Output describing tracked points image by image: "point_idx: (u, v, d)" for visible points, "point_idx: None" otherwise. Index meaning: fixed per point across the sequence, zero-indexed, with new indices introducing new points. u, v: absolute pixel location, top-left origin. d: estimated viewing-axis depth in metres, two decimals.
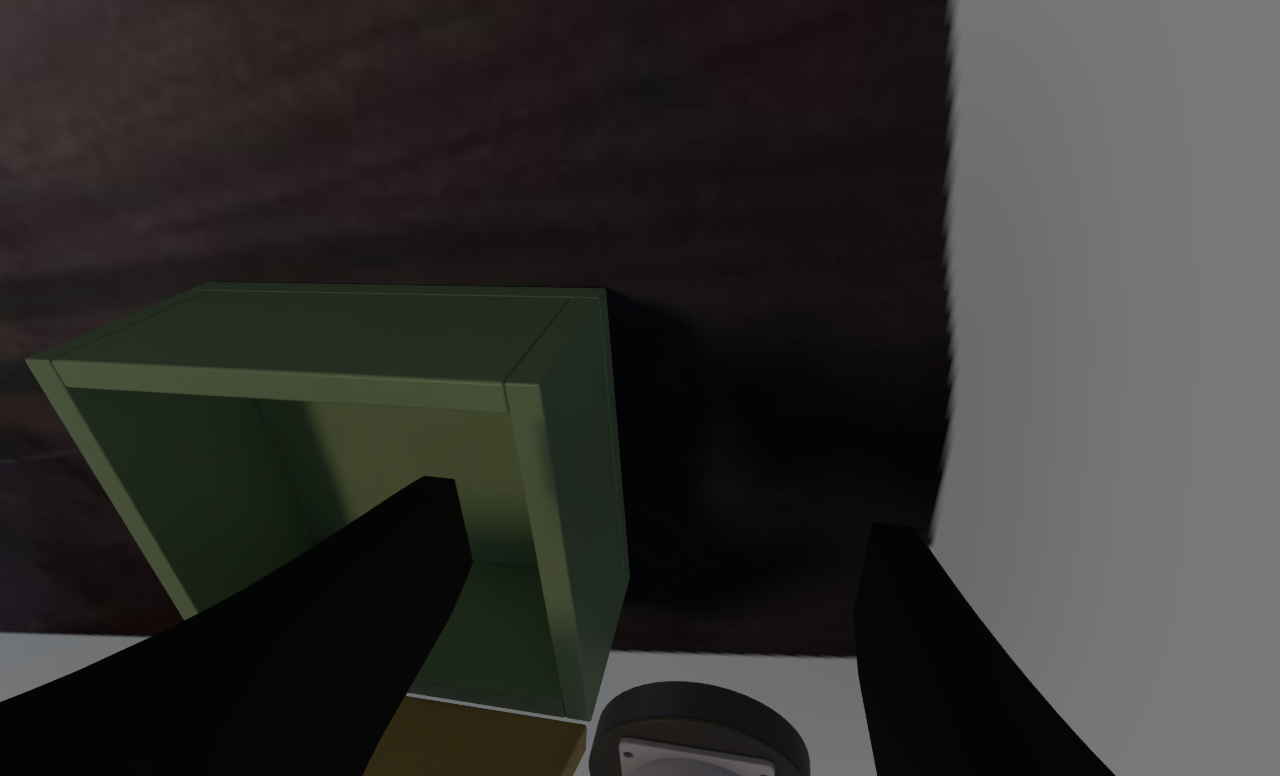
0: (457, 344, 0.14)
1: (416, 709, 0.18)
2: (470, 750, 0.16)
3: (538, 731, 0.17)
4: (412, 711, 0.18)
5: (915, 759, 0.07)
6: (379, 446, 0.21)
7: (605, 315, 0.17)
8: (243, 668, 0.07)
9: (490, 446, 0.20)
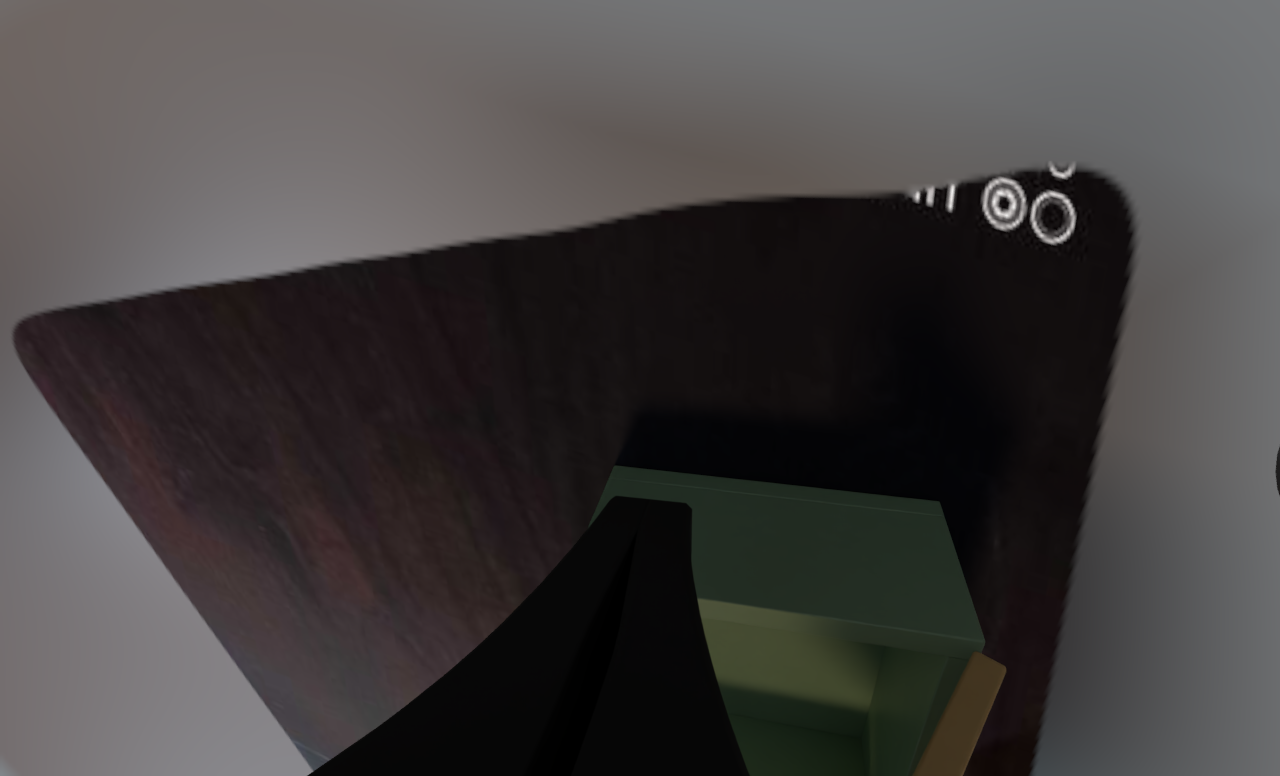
0: None
1: None
2: None
3: None
4: None
5: None
6: (749, 653, 0.25)
7: (630, 472, 0.23)
8: (550, 723, 0.06)
9: None
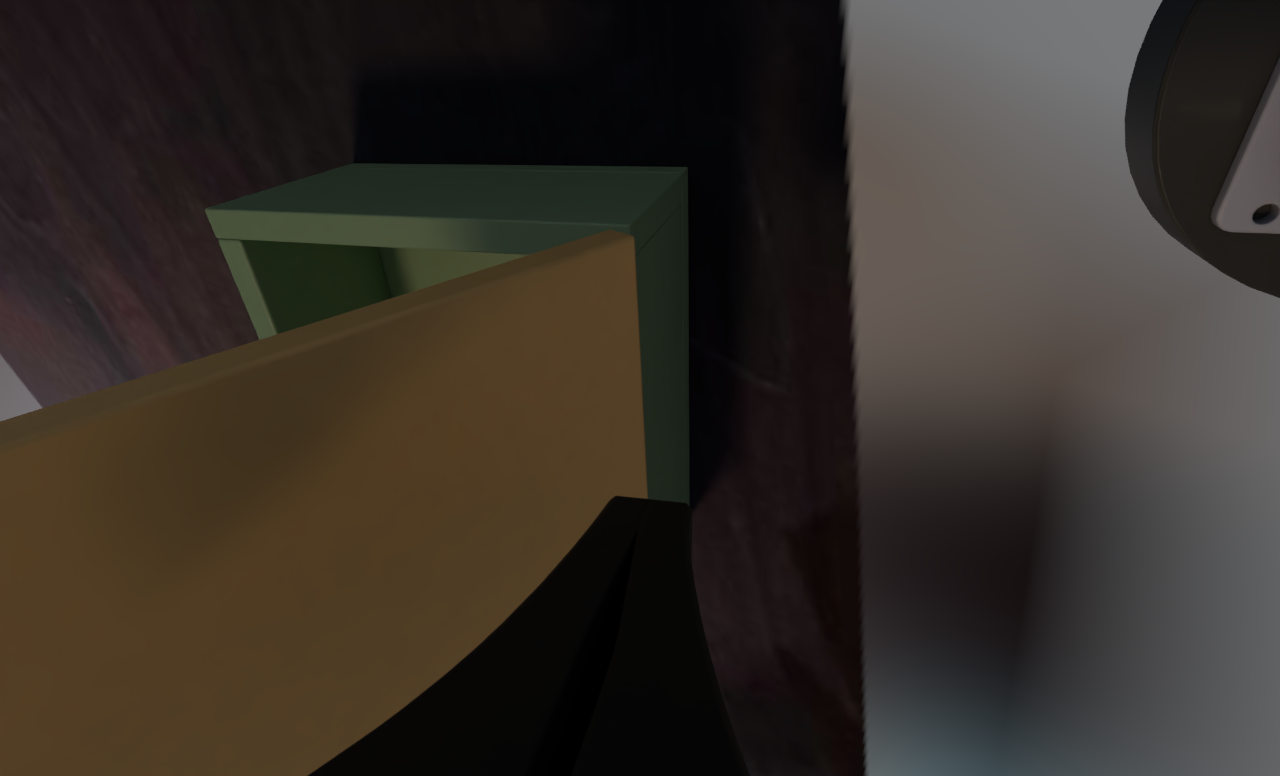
0: None
1: None
2: None
3: None
4: None
5: None
6: None
7: (362, 165, 0.20)
8: (551, 723, 0.06)
9: None
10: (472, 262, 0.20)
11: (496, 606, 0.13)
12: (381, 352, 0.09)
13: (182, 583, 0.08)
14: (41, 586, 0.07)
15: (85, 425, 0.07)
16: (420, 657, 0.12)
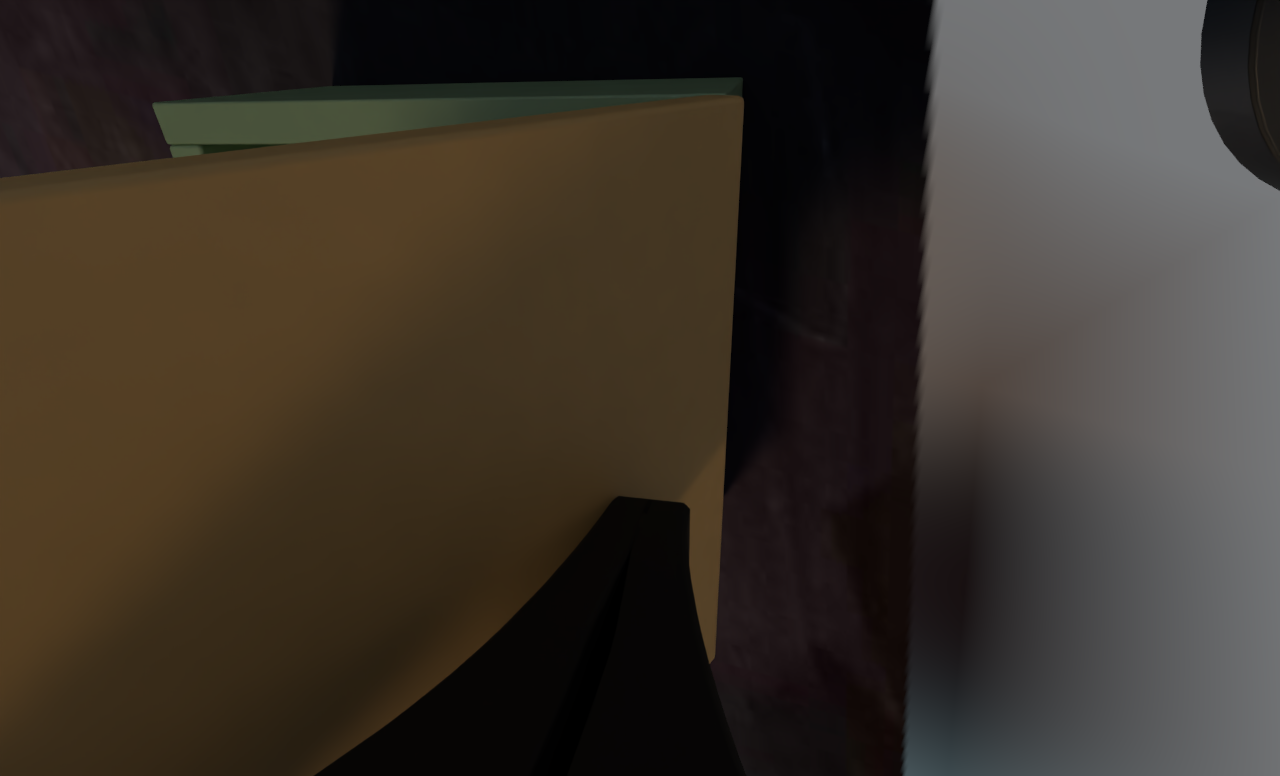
0: None
1: None
2: None
3: None
4: None
5: None
6: None
7: (345, 86, 0.17)
8: (555, 723, 0.06)
9: None
10: None
11: None
12: (460, 184, 0.06)
13: (157, 525, 0.05)
14: None
15: None
16: None
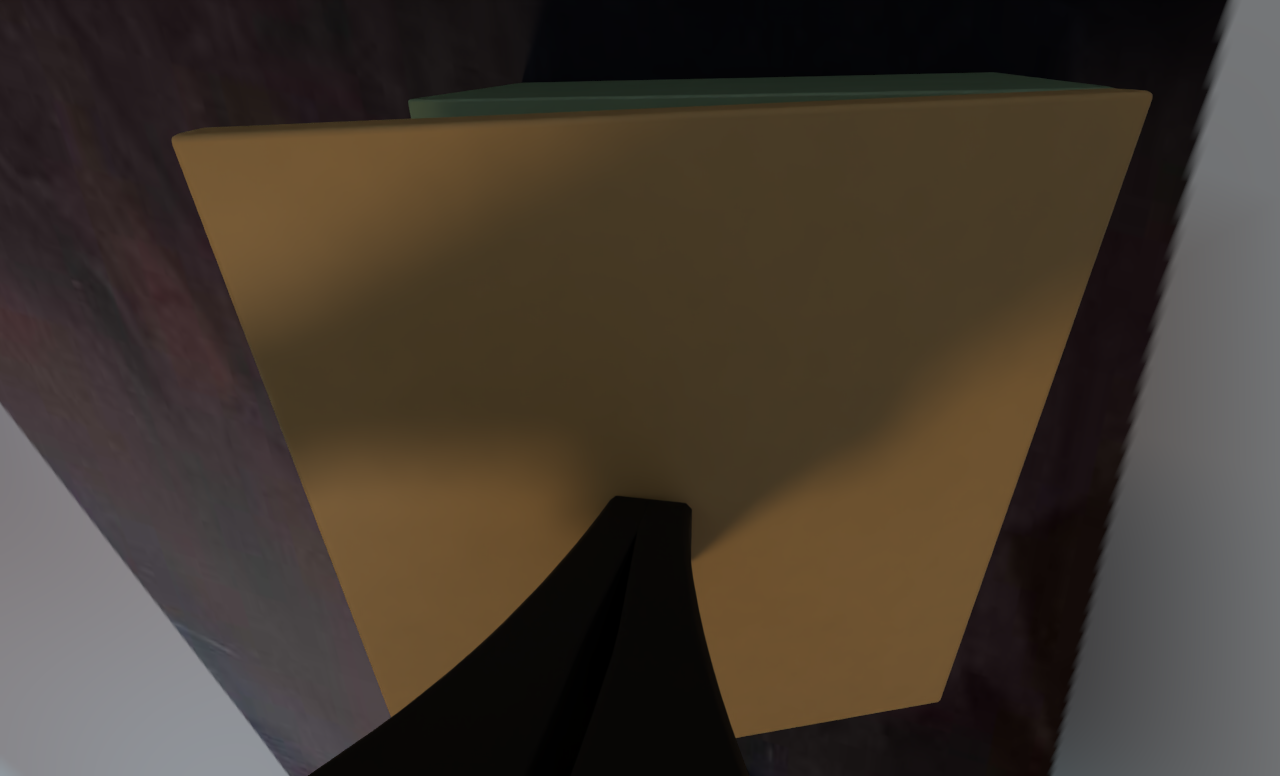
0: None
1: None
2: None
3: None
4: None
5: None
6: None
7: (541, 82, 0.16)
8: (551, 723, 0.06)
9: None
10: None
11: (786, 522, 0.11)
12: (776, 149, 0.08)
13: (526, 330, 0.08)
14: (432, 276, 0.08)
15: (503, 129, 0.07)
16: (693, 533, 0.11)
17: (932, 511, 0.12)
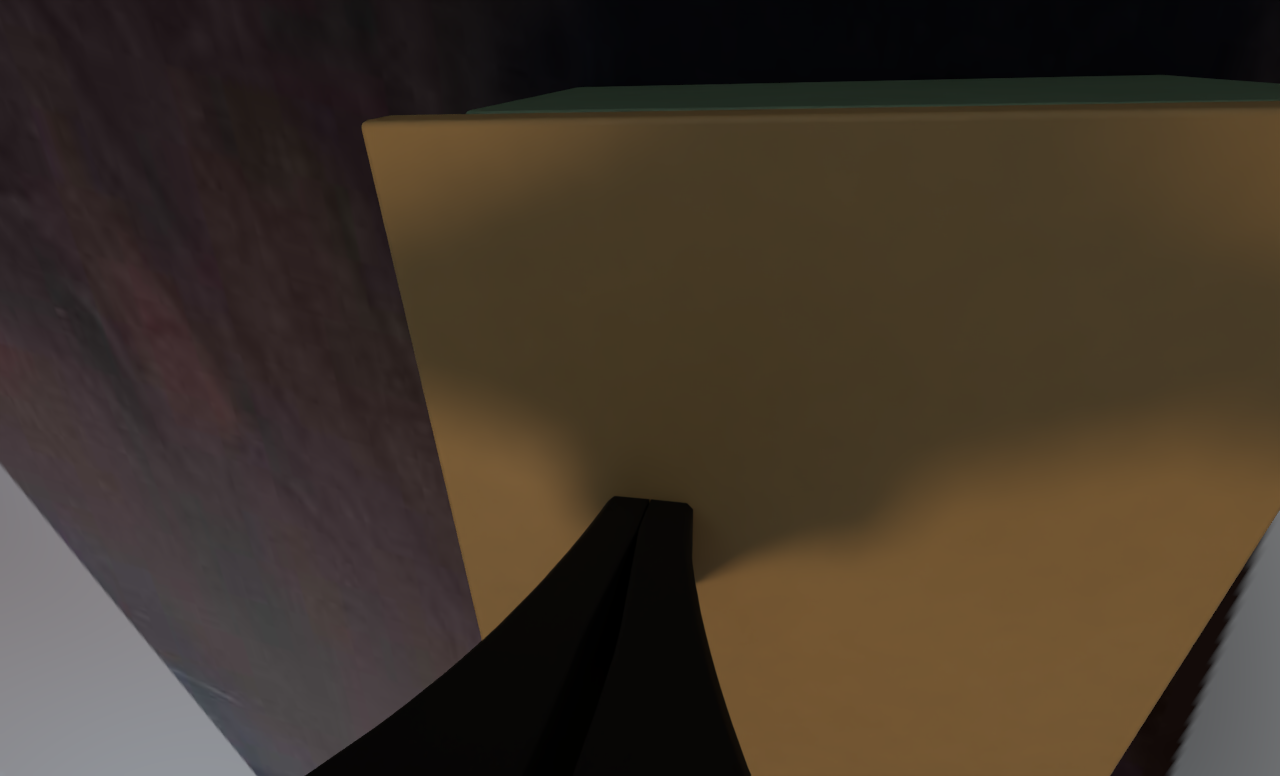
0: None
1: None
2: None
3: None
4: None
5: None
6: None
7: (603, 87, 0.13)
8: (548, 722, 0.06)
9: None
10: None
11: (903, 575, 0.10)
12: (939, 159, 0.07)
13: (644, 326, 0.08)
14: (561, 264, 0.08)
15: (642, 126, 0.07)
16: (794, 562, 0.10)
17: (1097, 604, 0.10)
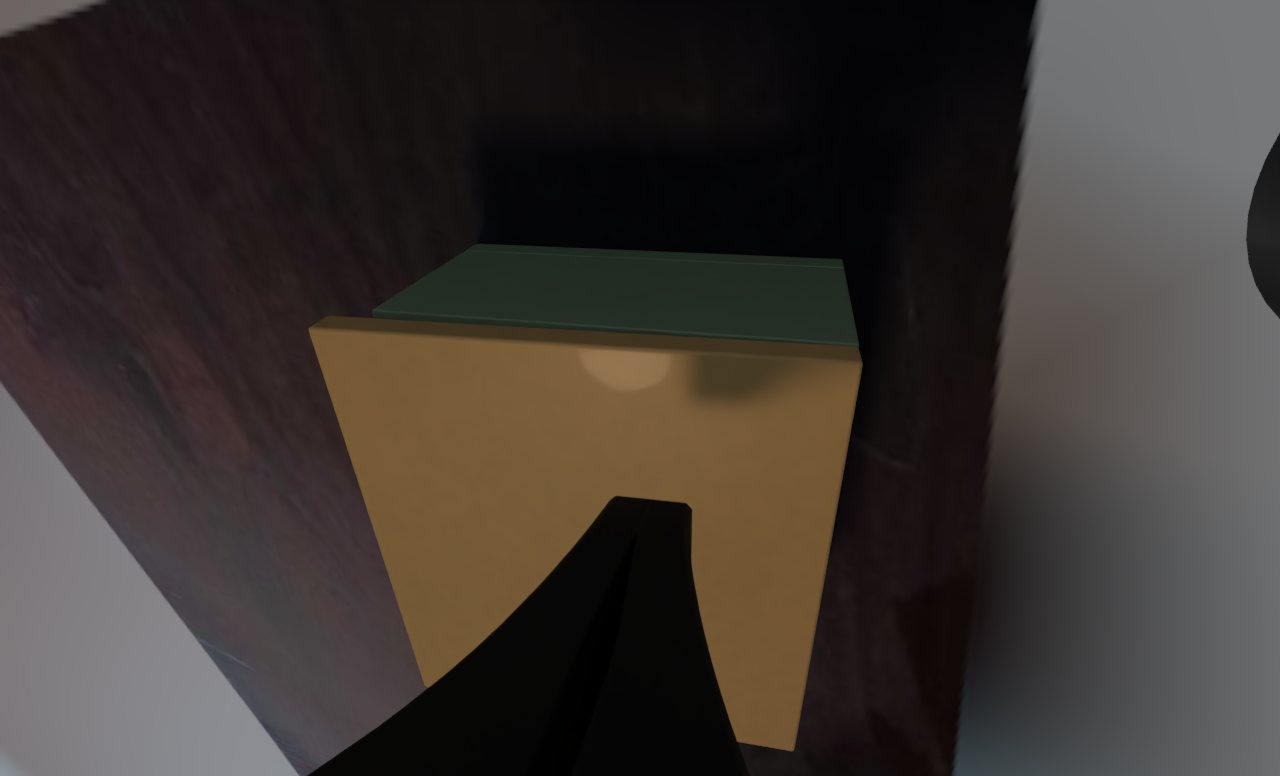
0: None
1: None
2: None
3: None
4: None
5: None
6: None
7: (491, 246, 0.19)
8: (550, 722, 0.06)
9: None
10: None
11: None
12: (600, 366, 0.13)
13: (470, 436, 0.15)
14: (420, 402, 0.15)
15: (453, 339, 0.14)
16: None
17: (753, 602, 0.16)
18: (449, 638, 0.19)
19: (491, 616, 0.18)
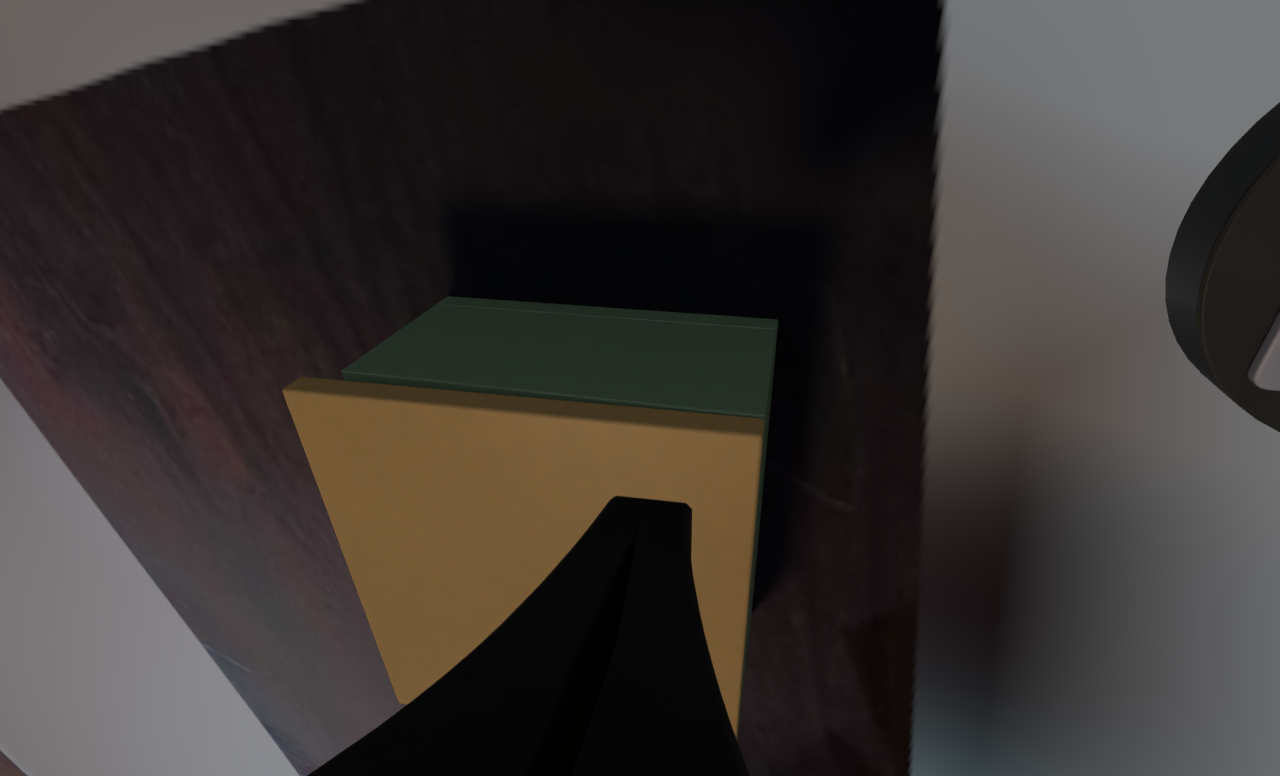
0: None
1: None
2: None
3: None
4: None
5: None
6: None
7: (460, 300, 0.21)
8: (550, 722, 0.06)
9: None
10: None
11: None
12: (536, 431, 0.15)
13: (426, 486, 0.16)
14: (382, 456, 0.16)
15: (408, 403, 0.15)
16: None
17: None
18: (418, 660, 0.21)
19: (454, 642, 0.20)
